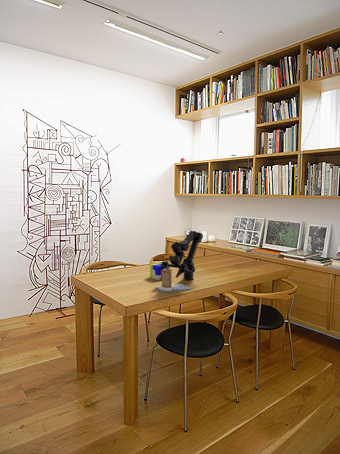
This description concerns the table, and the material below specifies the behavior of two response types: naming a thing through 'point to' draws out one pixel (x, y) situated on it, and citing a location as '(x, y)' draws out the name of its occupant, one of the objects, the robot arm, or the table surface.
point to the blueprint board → (173, 288)
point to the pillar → (166, 278)
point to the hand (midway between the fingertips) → (170, 276)
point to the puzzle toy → (156, 271)
